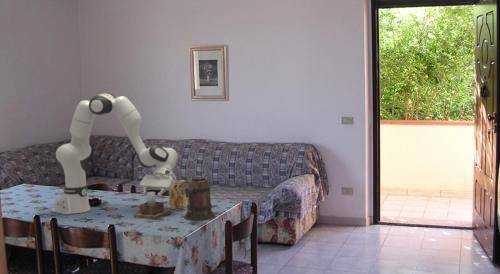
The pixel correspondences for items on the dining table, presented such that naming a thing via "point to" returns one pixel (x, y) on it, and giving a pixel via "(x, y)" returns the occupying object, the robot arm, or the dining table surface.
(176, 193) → the candy box
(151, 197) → the grey peg
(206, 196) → the tankard
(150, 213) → the slot stand
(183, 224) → the dining table surface
